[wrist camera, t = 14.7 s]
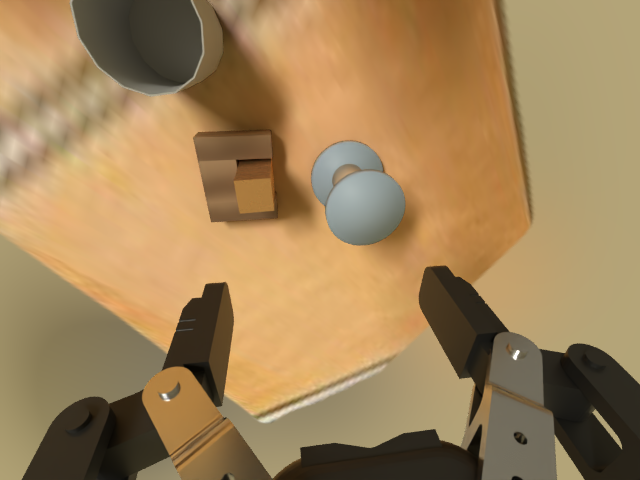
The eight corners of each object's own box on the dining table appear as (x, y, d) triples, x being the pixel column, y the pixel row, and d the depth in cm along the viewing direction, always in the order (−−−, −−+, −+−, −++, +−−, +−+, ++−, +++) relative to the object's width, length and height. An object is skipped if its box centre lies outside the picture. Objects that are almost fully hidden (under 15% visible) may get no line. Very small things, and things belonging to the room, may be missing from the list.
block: (241, 156, 37) (233, 180, 30) (270, 154, 37) (270, 178, 30) (245, 184, 38) (239, 213, 32) (274, 182, 39) (274, 210, 32)
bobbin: (310, 141, 37) (321, 169, 28) (384, 139, 38) (416, 165, 29) (311, 210, 41) (321, 252, 33) (377, 206, 42) (403, 246, 34)
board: (198, 132, 34) (193, 137, 32) (270, 129, 35) (270, 135, 33) (214, 213, 40) (211, 222, 38) (277, 209, 41) (277, 218, 38)
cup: (241, 36, 31) (228, 31, 22) (192, 101, 33) (164, 120, 24) (161, -47, 27) (109, -91, 18) (112, 33, 29) (47, 27, 21)
